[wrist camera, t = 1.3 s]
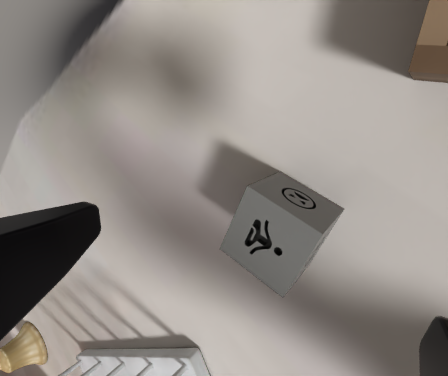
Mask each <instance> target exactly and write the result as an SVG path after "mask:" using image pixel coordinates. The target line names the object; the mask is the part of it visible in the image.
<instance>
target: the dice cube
mask: <svg viewBox="0 0 448 376" xmlns="http://www.w3.org/2000/svg"><path fill="white" fill-rule="evenodd" d="M343 210H344V208H342V207H340V206H339V205H337V204H335V203H334V202H332V201H330V200H328V199H327V198H325V197H323V196H322V195H320V194H318V193H317V192H315V191H313V190H311V189H310V188H308V187H306V186H305V185H303V184H301V183H300V182H298V181H296V180H294V179H293V178H291V177H289V176H288V175H286V174H284V173H282V172H278V173H276V174H274V175H271V176H269V177H267V178H264V179H262V180H260V181H257V182H255V183H253V184H250V185H248V186H247V187H246V190H245V192H244V194H243V197H242V199H241V201H240V203H239V206H238V208H237V210H236V213H235V215H234V217H233V219H232V222H231V224H230V226H229V229H228V231H227V233H226V235H225V238H224V240H223V242H222V245H221V247H220V249H221V250H222V251H223V252H225V253H226V254H227V255H228V256H230V257H231V258H232V259H234V260H235V261H236V262H237V263H239V264H240V265H241V266H243V267H244V268H245V269H246V270H248V271H249V272H250V273H252V274H253V275H254V276H255V277H257V278H258V279H259V280H261V281H262V282H263V283H265V284H266V285H267V286H268V287H270V288H271V289H272V290H274V291H275V292H276V293H277V294H279V295H280V296H281V297H284V296H285V295H286V294H287V292H288V291H289V290H290V288H291V287H292V286H293V285H294V283H295V282H296V281H297V279H298V278H299V277H300V276H301V274H302V273H303V272H304V270H305V269H306V268H307V267H308V265H309V264H310V262H311V261H312V259H313V258H314V256H315V255H316V253H317V251H318V250H319V248H320V247H321V245H322V244H323V242H324V240H325V239H326V237H327V236H328V234H329V233H330V231H331V229H332V228H333V226H334V225H335V223H336V221H337V220H338V218H339V217H340V215H341V214H342V212H343Z"/></svg>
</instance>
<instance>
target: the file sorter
mask: <svg viewBox="0 0 448 376" xmlns="http://www.w3.org/2000/svg"><path fill="white" fill-rule="evenodd" d="M76 359H77V361H78V362H77V363H76V364H74V365H73V366H71V367H70V368H68V369H67V370H66V371H64V372H63V373H61V374H60V375H58V376H66V375H67V374H69V373H70V372H71V371H73V370H74V369H75V368H77V367H78V366H80V368H81V371H82V375H81V376H210V375H209V372H208V370H207V367H206V365H205V362H204V360H203V357H202V355H201V352H200V350H199V349H198V348H159V349H85V350H84V351H83V352H81V353H80V354H78V355H77V356H76Z"/></svg>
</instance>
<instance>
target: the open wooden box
mask: <svg viewBox="0 0 448 376" xmlns="http://www.w3.org/2000/svg"><path fill="white" fill-rule="evenodd" d="M408 72H409V73H410V75H411V76H412V78H413V79H414V80H421V81H432V82H443V83H448V0H429V3H428V7H427V10H426V13H425V17H424V20H423V23H422V27H421V30H420V33H419V37H418V40H417V43H416V47H415V50H414V53H413V57H412V60H411V64H410V67H409V70H408Z"/></svg>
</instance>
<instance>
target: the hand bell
mask: <svg viewBox="0 0 448 376" xmlns="http://www.w3.org/2000/svg"><path fill="white" fill-rule="evenodd" d="M47 357H48V356H47V349H46V346H45V343H44V341H43V338H42V337H41V334H40V333H39V331H38V330H37V328H36V327H35V326H34V325H33V324H31V323H30V322H26V323H25V324H24V325H23V326H22V328H21V330H20V332H19V333H18V335H17V336H16V337H15V338H14V339H13V340H11V341H10V342H9V343H8V344H6V345H5V346H3V347H2V348H0V370H2V371H4V372H6V373H11V372H12V371H14V370H16V369H19V368H21V367H23V366H26V365H31V364H38V365H43V364H45V363H46V362H47Z"/></svg>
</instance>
